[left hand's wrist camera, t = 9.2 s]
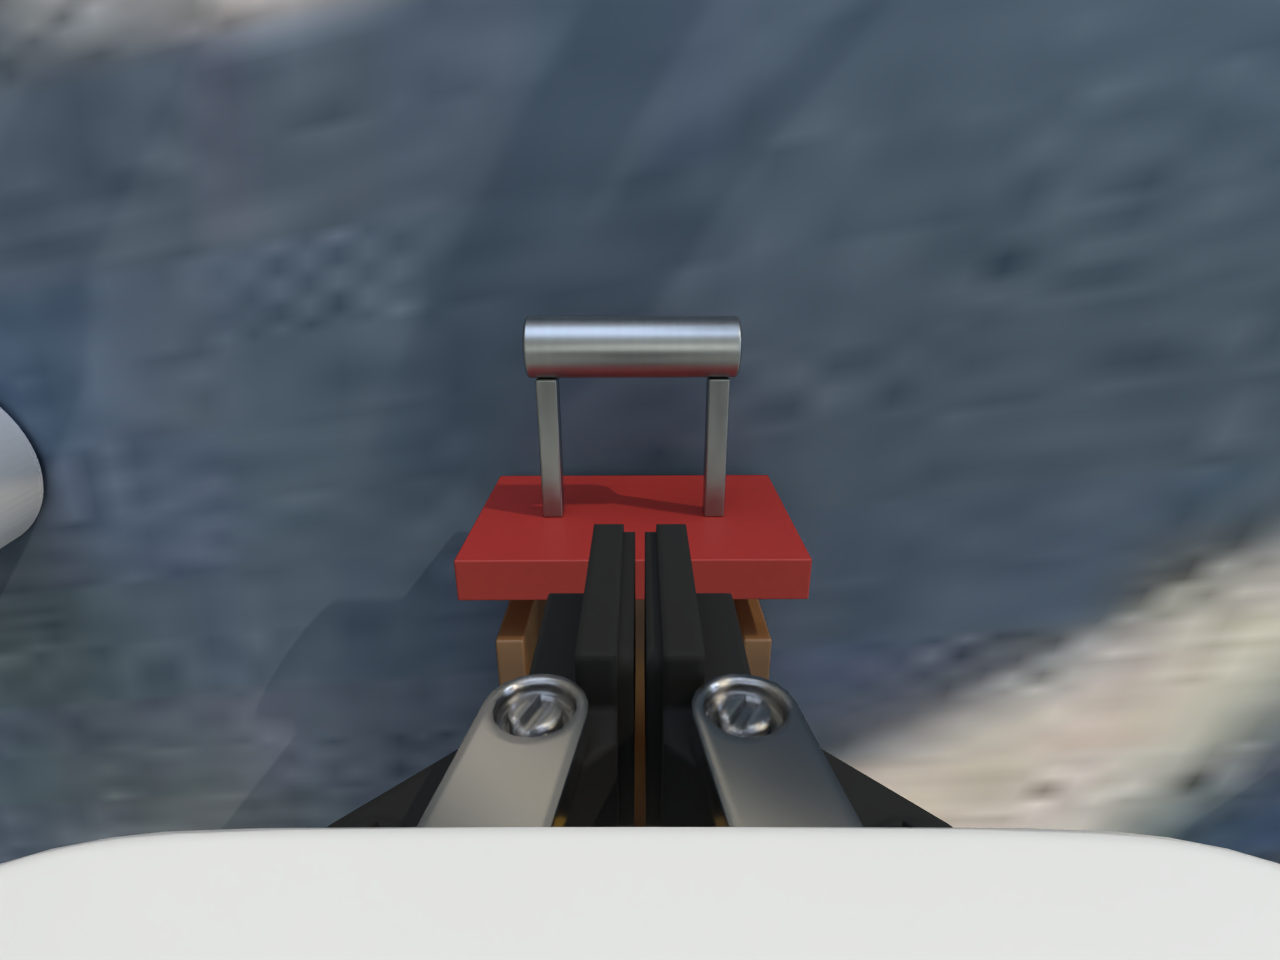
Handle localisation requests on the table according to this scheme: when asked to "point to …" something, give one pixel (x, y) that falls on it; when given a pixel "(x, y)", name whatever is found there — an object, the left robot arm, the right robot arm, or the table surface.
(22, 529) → the coffee cup
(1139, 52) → the table surface
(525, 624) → the drawer
